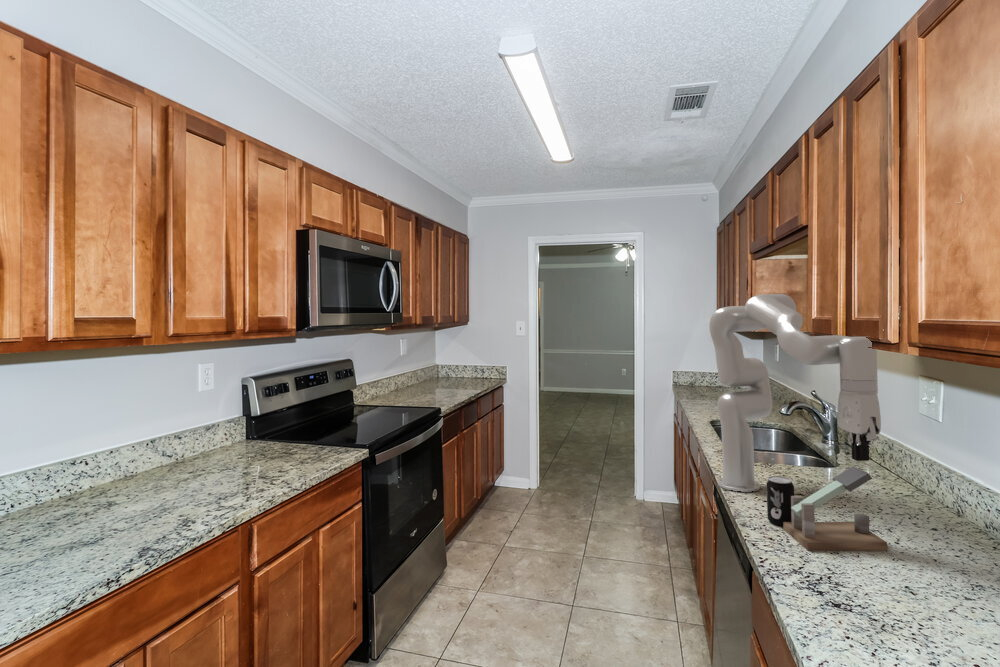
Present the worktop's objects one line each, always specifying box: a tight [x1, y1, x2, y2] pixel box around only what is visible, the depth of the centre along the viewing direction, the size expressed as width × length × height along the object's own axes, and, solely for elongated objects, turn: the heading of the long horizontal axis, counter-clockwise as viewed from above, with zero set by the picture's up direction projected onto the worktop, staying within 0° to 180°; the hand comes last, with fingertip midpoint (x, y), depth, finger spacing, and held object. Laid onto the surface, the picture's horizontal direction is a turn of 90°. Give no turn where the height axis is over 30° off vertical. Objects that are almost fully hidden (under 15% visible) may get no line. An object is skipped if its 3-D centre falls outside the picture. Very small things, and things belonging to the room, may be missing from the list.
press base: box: [782, 495, 888, 552], centre depth 123 cm, size 12×18×10 cm, turn 85°
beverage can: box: [766, 475, 795, 527], centre depth 134 cm, size 7×7×12 cm
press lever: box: [791, 465, 873, 517], centre depth 123 cm, size 6×19×2 cm
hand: (860, 459), depth 122 cm, fingers closed
